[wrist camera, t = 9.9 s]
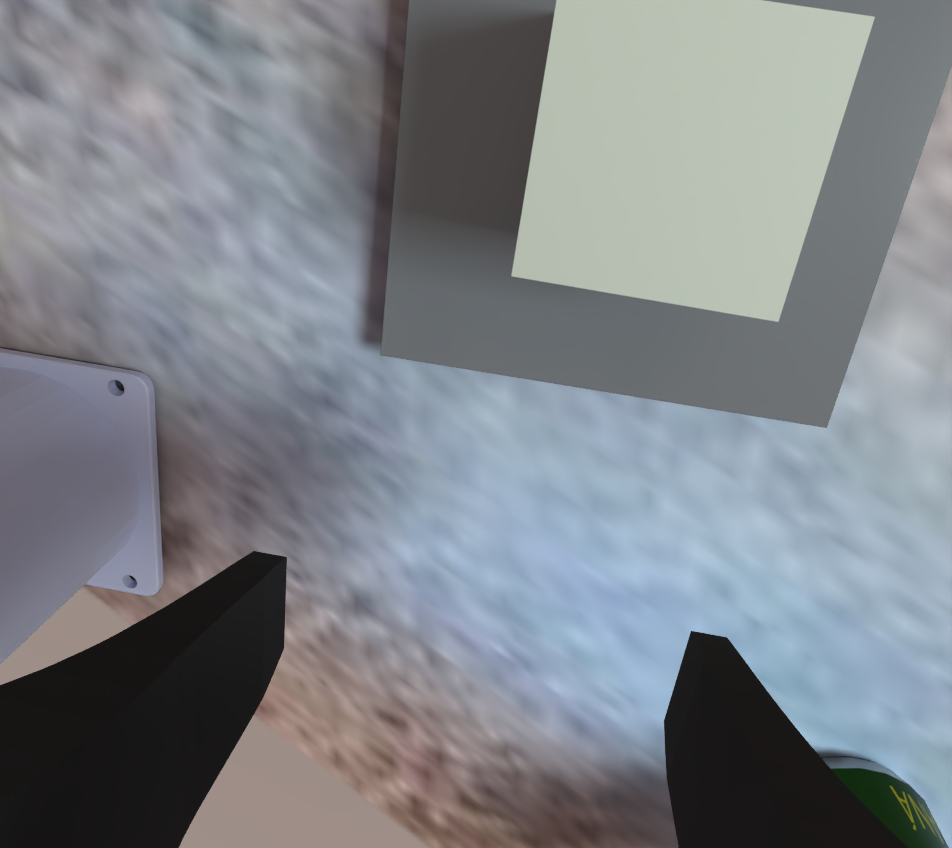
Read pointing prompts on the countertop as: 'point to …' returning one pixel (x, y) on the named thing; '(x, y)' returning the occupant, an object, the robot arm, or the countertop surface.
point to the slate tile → (617, 316)
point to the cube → (684, 147)
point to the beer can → (889, 801)
